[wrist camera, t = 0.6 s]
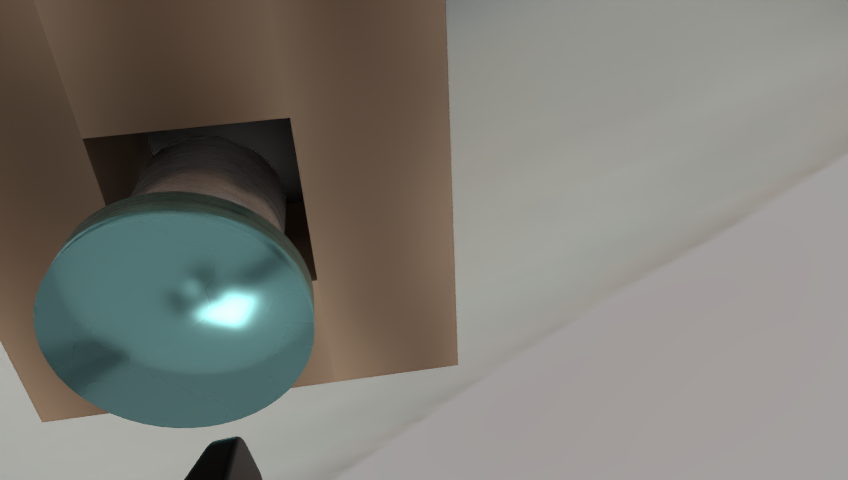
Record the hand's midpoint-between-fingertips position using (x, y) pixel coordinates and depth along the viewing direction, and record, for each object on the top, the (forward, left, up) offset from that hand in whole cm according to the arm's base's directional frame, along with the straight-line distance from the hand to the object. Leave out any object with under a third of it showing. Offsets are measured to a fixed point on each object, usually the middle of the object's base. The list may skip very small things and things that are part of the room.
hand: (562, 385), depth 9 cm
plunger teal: (+6, +1, -9) cm, 11 cm away
